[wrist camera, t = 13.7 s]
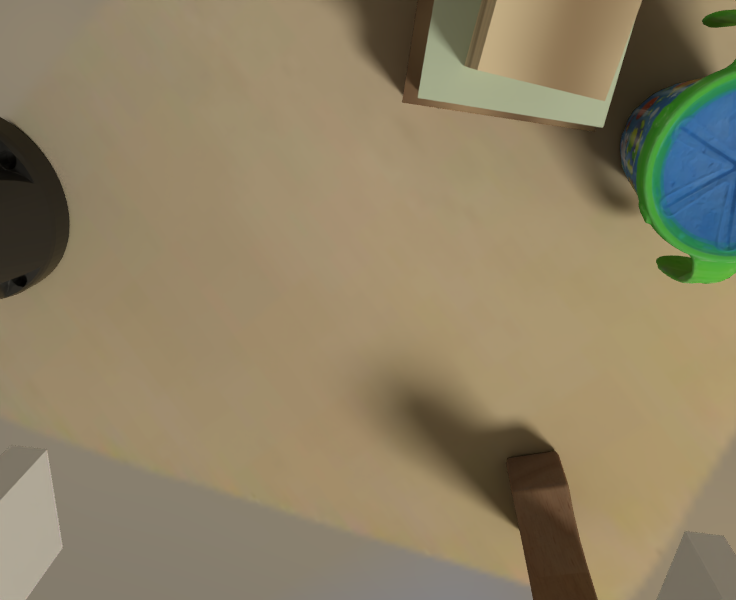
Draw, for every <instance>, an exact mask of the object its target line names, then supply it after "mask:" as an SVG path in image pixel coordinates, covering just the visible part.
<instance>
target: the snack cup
mask: <svg viewBox="0 0 736 600" xmlns="http://www.w3.org/2000/svg"><path fill="white" fill-rule="evenodd" d="M702 22H703V24H704V25H706V26H708V27H715V28H717V27H727V26H735V25H736V10H724V11H718V12H714V13H712V14H709V15H707V16H706V17H705V18H704V19H703V20H702ZM620 152H621V164H622V168H623V170H624V172H625V174H626V176H627V178H628V181H629V182H630V184H631V185H632V187H633V189H634V190H635V192H636V193H637V195H638V199H639V209H640V212H641V214H642V216H643V218H644V221H645V222H646V223H648V224H650V225H651V226H652V227H653V229H654V230H655V231H656V232H657V233H658V234H659V235H660V236H661V237H662V238H663V239H664V240H665V241H667V242H668V243H669V244H671V245H672V246H674V247H675V248H677V249H679V250H680V251H682V252H684V253H687V254H689V255H690V257H691V258H689V257H683V256H661V257H659V258H657V260H656V263H657V265H658V268H659V269H660V270H661V271H662V272H663V273H665V274H666V275H667V276H669V277H671V278H672V279H674V280H676V281H679V282H682V283H704V284H709V283H717V282H721V281H723V280H725V279H727V278H730V277H731V276H732V275H733V274H735V273H736V59H735V60H734V62H733V63H732V64H731V65H729V66H728V67H726V68H725V69H722V70H720V71H717V72H715V73H713V74H711V75H708V76H706V77H704V78H700V79H695V80H691V81H687V82H683V83H677V84H675V85H673V86H671V87H668V88H666V89H663V90H660V91H658V92H657V93H655V94H653V95H652V96H650V97H649V98H648V99H647V100H645V101H644V102H643V103H642V104H641V105H640V106H639V107H638V108H636V109H635V110H634V111H633V113H632V115H631V116H630V117H629V119H628V121H627V125H626V127H625V130H624V132H623V133H622V137H621V144H620Z"/></svg>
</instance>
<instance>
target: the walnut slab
mask: <svg viewBox="0 0 736 600" xmlns="http://www.w3.org/2000/svg"><path fill="white" fill-rule="evenodd" d="M433 4H434V0H418V2H417V8H416V15H415V21H414V28H413V35H412V41H411V48H410V54H409V61H408V67H407V74H406V80H405V87H404V94H403V100H402V102H403V103H409V104H416V105H423V106H429V107H436V108H442V109H449V110H455V111H462V112H468V113H475V114H481V115H488V116H495V117H501V118H508V119H514V120H521V121H527V122H534V123H540V124H547V125H553V126H560V127H567V128H573V129H580V130H586V131H593V132H595V130H596V127H595V126H589V125H583V124H577V123H571V122H564V121H558V120H552V119H546V118H540V117H533V116H527V115H521V114H515V113H509V112H502V111H496V110H490V109H484V108H478V107H471V106H465V105H459V104H453V103H447V102H440V101H434V100H428V99H422V98H418V92H419V86H420V81H421V75H422V69H423V63H424V57H425V51H426V45H427V39H428V34H429V28H430V22H431V16H432V10H433Z"/></svg>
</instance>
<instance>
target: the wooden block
mask: <svg viewBox="0 0 736 600" xmlns="http://www.w3.org/2000/svg"><path fill="white" fill-rule="evenodd" d="M506 465H507V470H508V475H509V481H510V486H511V491H512V496H513V501H514V506H515V510H516V515H517V520H518V525H519V530H520V535H521V540H522V544H523V549H524V555H525V560H526V565H527V570H528V575H529V580H530V586H531V591H532V596H533V600H598V599H597V596H596V592H595V589H594V586H593V583H592V579H591V576H590V573H589V570H588V566H587V563H586V559H585V556H584V552H583V549H582V545H581V542H580V538H579V533H578V529H577V525H576V521H575V517H574V512H573V507H572V502H571V497H570V491H569V486H568V483H567V479H566V476H565V473H564V470H563V467H562V464H561V461H560V458H559V455H558V454H557V453H556V452H554V451H552V452H545V453H538V454H531V455H525V456H518V457H511V458H508V459H507V462H506Z"/></svg>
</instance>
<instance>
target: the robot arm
mask: <svg viewBox="0 0 736 600" xmlns="http://www.w3.org/2000/svg"><path fill="white" fill-rule="evenodd" d="M68 237H69V212H68V206H67V201H66V198H65V194H64V191H63V188H62V186H61V183H60V181H59V179H58V177H57V175H56V173H55V171H54V169H53V168H52V166H51V165H50V163H49V162H48V160H47V159H46V157H45V156H44V155H43V153H42V152H41V151H40V150H39V148H38V147H37V146H36V145H35V144H34V143H33V142H32V141H31V140H30V139H29V138H28V137H27V136H26V135H25V134H24V133H22V132H21V131H20V130H19V129H17V128H16V127H15V126H13V125H12V124H11V123H9V122H7V121H6V120H4V119H3V118H1V117H0V299H3V298H7V297H10V296H13V295H16V294H18V293H21V292H23V291H25V290H26V289H28V288H30V287H32V286H33V285H35V284H37V283H38V282H40V281H42V280H43V279H45V278H46V277H47V276H48V275H49V274H50V273H51V272H52V271H53V270H54V269H55V268H56V267H57V265H58V264H59V262H60V260H61V259H62V257H63V254H64V252H65V249H66V246H67V242H68ZM62 548H63V546H62V541H61V534H60V528H59V521H58V515H57V510H56V503H55V496H54V490H53V484H52V477H51V471H50V465H49V459H48V452H47V449H39V448H31V447H23V446H16V445H11V446H10V447H9V448H8V449H7V450H6V451H5V452H4V453H2V454H1V455H0V600H26V599H27V597H28V596H29V594H30V593H31V592H32V590H33V589H34V587H35V585H37V583H38V582H39V580H40V579H41V577H42V576H43V574H44V573H45V572H46V570H47V569H48V568H49V566H50V565H51V563H52V562H53V560H54V559H55V558H56V556H57V555H58V553H59V552H60V550H61V549H62ZM657 600H736V555H735V553H734V552H733V550H732V548H731V547H730V545H729V544H728V542H727V540H726V539H725V537H724V536H720V535H713V534H704V533H697V532H689V531H685V532H684V535H683V537H682V539H681V542H680V544H679V547H678V549H677V551H676V554H675V556H674V559H673V561H672V563H671V566H670V568H669V571H668V573H667V575H666V578H665V580H664V583H663V585H662V588H661V590H660V592H659V595H658V597H657Z"/></svg>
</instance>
